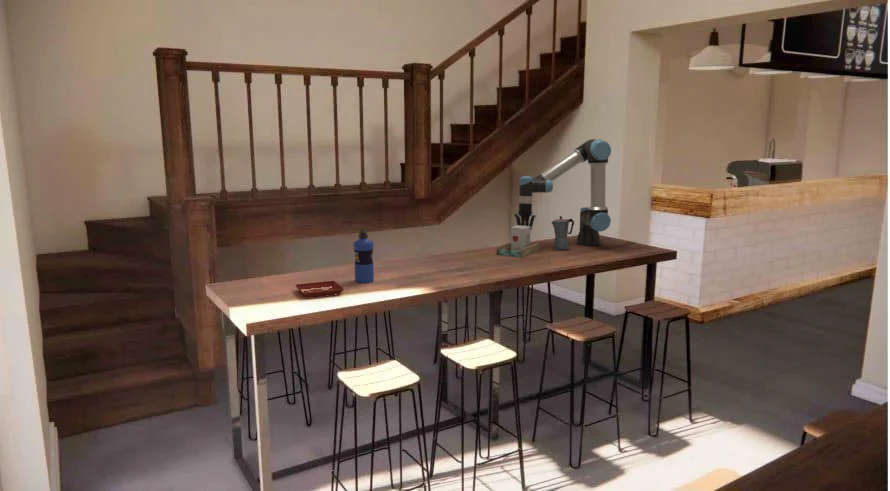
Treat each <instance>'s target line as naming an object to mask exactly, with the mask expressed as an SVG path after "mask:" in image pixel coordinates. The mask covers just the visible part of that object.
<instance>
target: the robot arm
mask: <svg viewBox="0 0 890 491" xmlns="http://www.w3.org/2000/svg"><path fill="white" fill-rule="evenodd" d="M611 153H612V148H611V145H610V143H608V141H607V140H603V139H594V138H593V139H588V140H586V141H585V142H583V143H582V144H581V145H579V146H578V147H576V148H575V149H574V150H573V152H572V153H569V154H568V155H567V156H565V157H564V158H562V159H561V160H559V161H558V162H556V163H555V164H553V165H552V166H550V167H549V168H547V169H546V170H545V171H543V172H542V173H540V174H538V175H537V176H536V177H535V176H528V175H527V176H525V175H524V176H521V177H519V196H518V197H519V199H518V201H519V204H518V212H517V213H515V214H514V217H515V219H516V224H517V225H523V226H531V228H530V232H531V231H532V229H533V225H534V221H535V218H536V217H537V215H536V214H534V213H533V193H539V194H541V193H543V194H544V193H546V194H547V193H552V192H553V188H554V184H553V181H554V180H556V179H558V178H559V177H561V176H562V175H564V174H565V173H567V172H568V171H570V170H571V169H572V168H574V167H576V166H578V164H580V163H585V162H587V164H588V165H589V166H590V205H589V207H588V206H587V207H581V208H580V209H579V210H580V211H579V230H578V234H577V237H576V242H575V243H576V244H577V245H579V246H588V247H589V246H591V247H592V246H600V245H602V239H601V236H600V232H604V231H606V230H607V229H609V227H610V225H611V221H612V219H611V217H610V215H609V209H608V207H607V205H606V166H607V165H608V164H609V158H610V156H611Z"/></svg>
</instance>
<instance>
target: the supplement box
mask: <svg viewBox="0 0 890 491" xmlns="http://www.w3.org/2000/svg"><path fill="white" fill-rule="evenodd" d="M530 228H531V226H523V225H516V224H515V225H514V226H512V227H511V241H510V242H511V250H510V251H518V252H521V249H523V248H526V247H529V246H531V231H530Z"/></svg>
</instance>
